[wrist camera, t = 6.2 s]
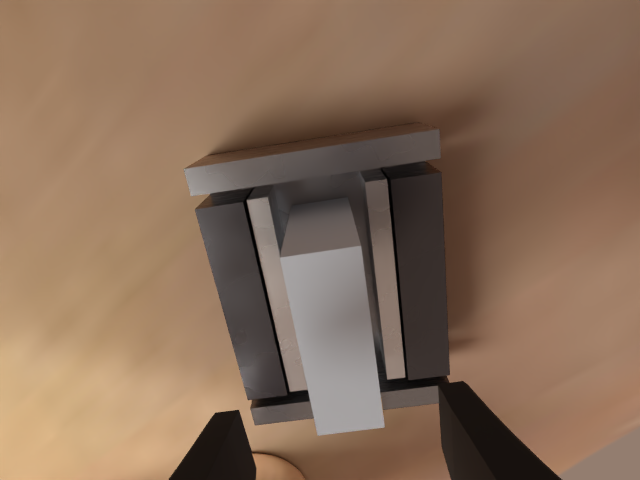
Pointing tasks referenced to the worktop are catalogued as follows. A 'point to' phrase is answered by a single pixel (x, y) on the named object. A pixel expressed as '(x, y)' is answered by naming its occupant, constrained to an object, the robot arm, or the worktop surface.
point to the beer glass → (275, 468)
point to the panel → (332, 316)
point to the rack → (377, 251)
